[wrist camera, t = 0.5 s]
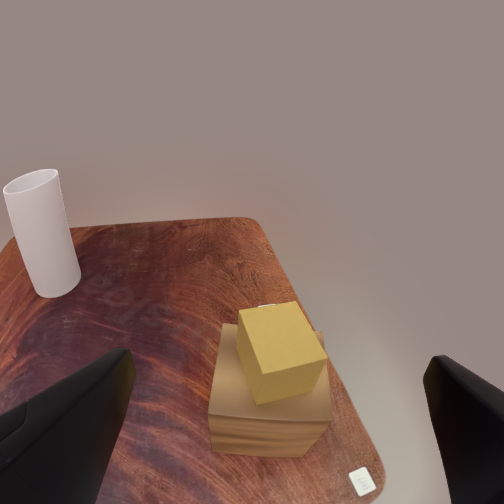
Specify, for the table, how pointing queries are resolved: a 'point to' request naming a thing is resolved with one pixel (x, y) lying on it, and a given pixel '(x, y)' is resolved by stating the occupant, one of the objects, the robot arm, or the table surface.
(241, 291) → the table surface
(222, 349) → the stand
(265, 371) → the cheese
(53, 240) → the cup
